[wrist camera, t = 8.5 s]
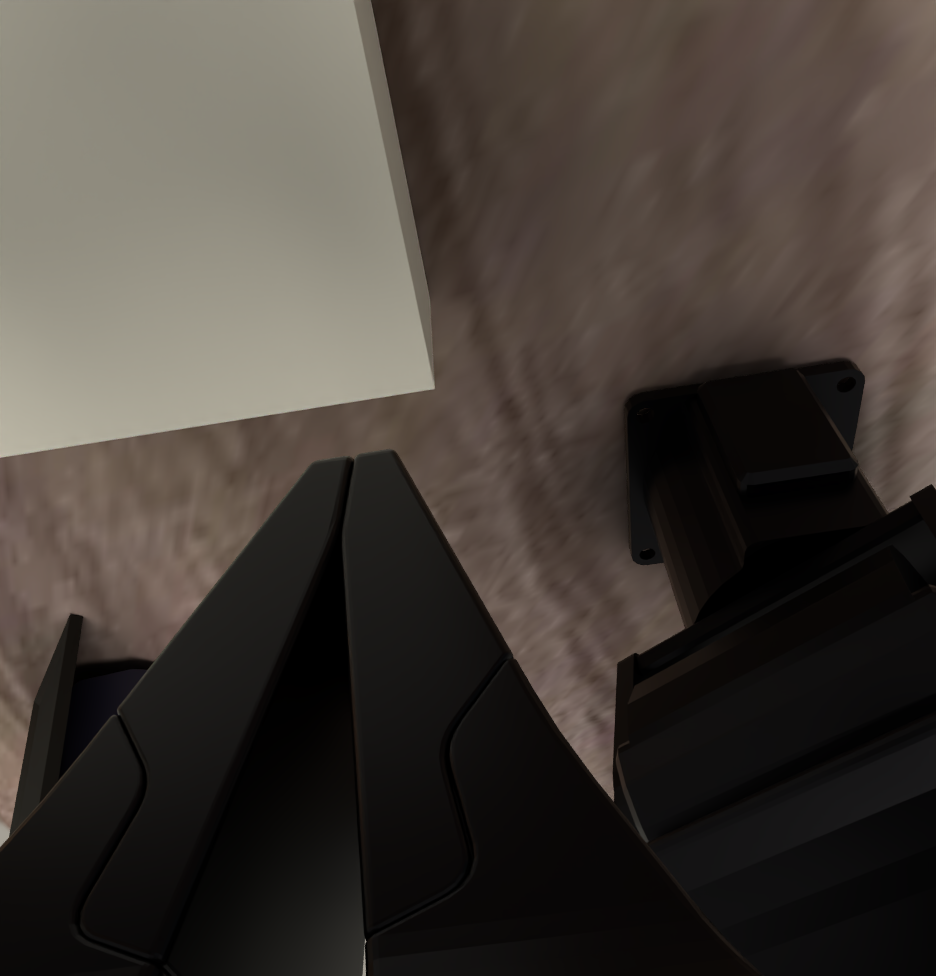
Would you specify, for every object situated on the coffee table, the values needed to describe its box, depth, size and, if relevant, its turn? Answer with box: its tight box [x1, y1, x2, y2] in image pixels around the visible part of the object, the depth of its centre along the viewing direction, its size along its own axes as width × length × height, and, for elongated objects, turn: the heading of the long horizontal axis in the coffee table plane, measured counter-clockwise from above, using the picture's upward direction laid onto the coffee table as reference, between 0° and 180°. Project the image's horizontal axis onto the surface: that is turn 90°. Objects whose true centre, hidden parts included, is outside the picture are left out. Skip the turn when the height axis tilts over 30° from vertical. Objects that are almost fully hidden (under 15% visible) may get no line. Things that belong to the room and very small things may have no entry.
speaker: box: [9, 615, 147, 837], centre depth 28 cm, size 8×6×10 cm
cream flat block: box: [0, 0, 435, 458], centre depth 15 cm, size 16×12×4 cm
